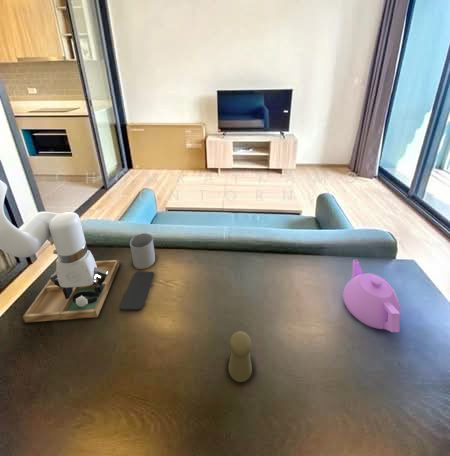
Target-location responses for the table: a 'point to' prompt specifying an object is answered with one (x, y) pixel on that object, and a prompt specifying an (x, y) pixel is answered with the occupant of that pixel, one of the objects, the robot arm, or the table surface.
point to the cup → (142, 250)
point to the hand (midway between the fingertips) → (84, 294)
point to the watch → (82, 300)
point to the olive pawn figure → (240, 357)
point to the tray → (70, 299)
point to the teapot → (372, 300)
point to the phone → (137, 291)
